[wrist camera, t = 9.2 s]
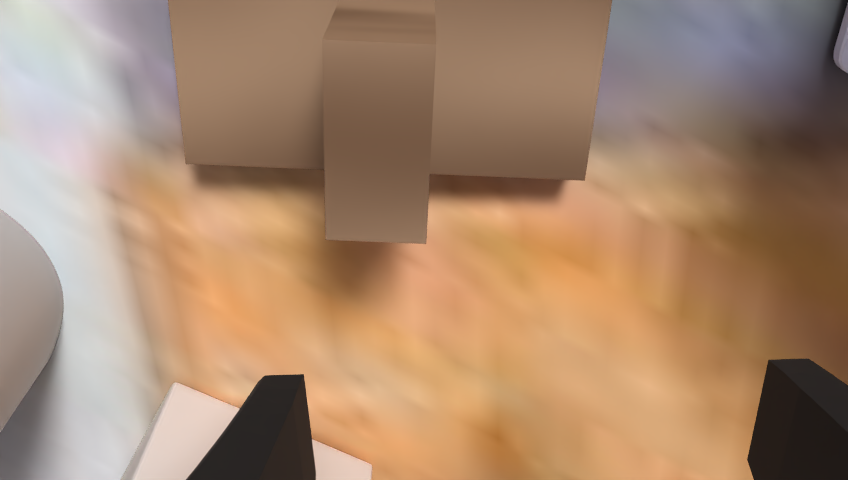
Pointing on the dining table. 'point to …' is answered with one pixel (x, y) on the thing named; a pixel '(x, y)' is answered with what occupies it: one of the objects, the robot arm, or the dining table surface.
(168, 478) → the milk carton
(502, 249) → the dining table surface
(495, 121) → the walnut strip
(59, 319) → the lumpy-topped squat cylinder
